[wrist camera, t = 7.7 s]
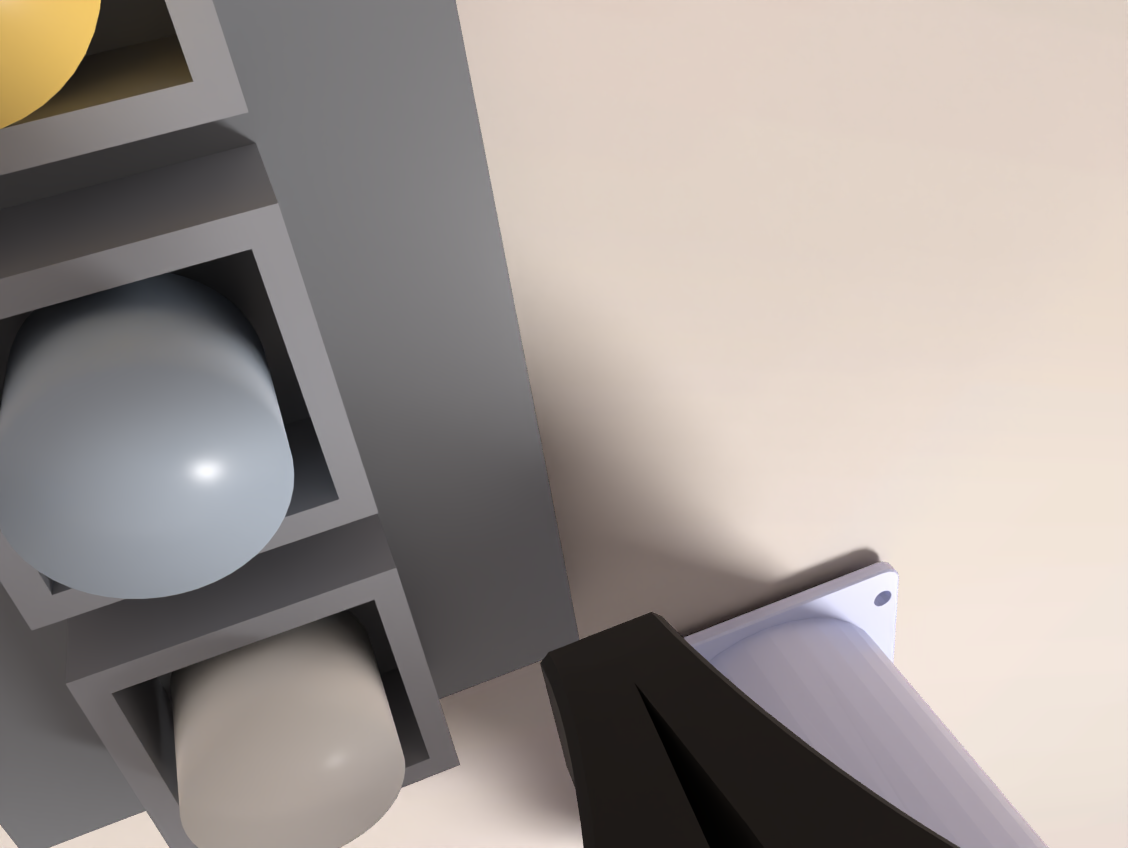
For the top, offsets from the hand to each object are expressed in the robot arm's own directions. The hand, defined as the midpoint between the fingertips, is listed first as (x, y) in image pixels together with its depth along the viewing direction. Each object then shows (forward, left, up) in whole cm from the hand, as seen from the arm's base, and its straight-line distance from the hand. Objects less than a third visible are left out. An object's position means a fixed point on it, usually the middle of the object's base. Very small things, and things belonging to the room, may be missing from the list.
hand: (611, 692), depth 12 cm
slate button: (+2, +4, -7) cm, 9 cm away
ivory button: (-5, +4, -7) cm, 10 cm away
